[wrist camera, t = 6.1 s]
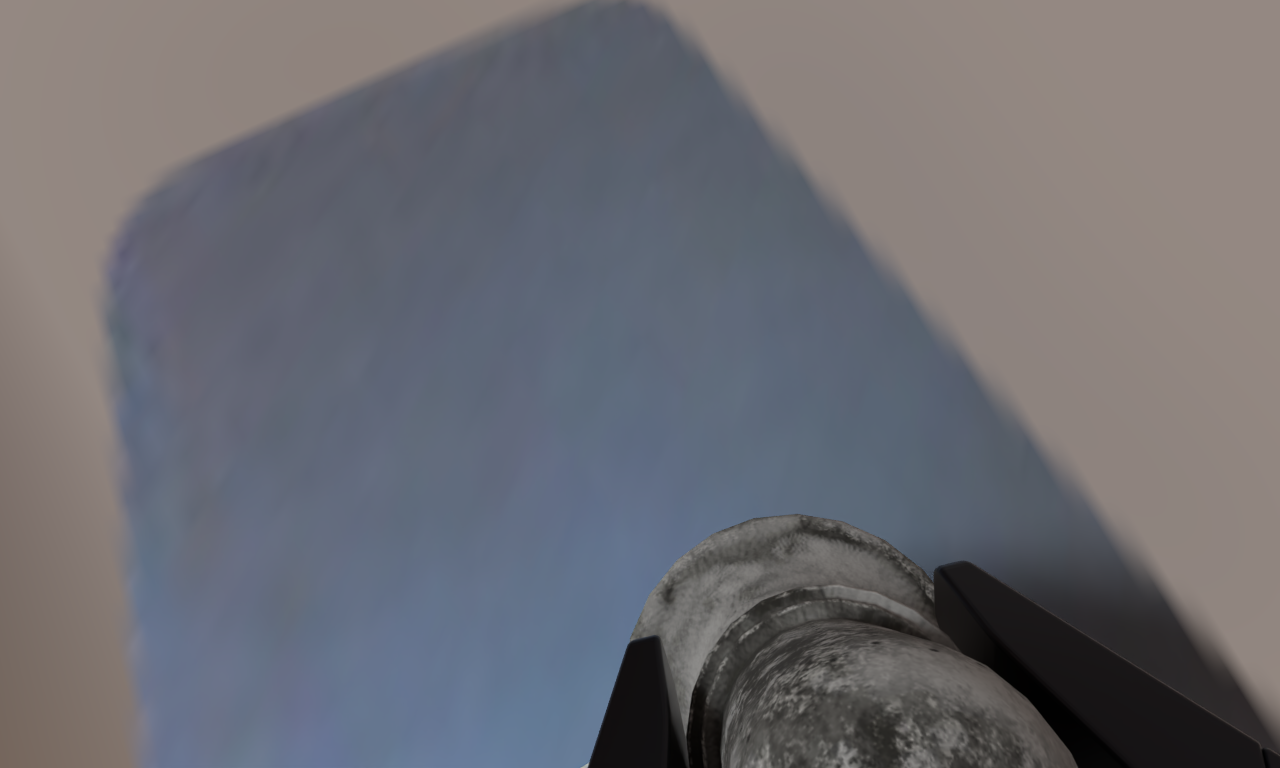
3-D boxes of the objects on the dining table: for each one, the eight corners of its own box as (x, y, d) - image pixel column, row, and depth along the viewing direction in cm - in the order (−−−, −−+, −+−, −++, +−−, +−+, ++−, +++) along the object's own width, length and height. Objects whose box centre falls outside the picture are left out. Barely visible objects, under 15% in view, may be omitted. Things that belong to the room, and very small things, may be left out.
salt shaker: (826, 479, 16) (1119, 251, 5) (979, 735, 15) (1952, 1299, 3) (593, 606, 16) (315, 686, 5) (724, 880, 15) (809, 2046, 3)
